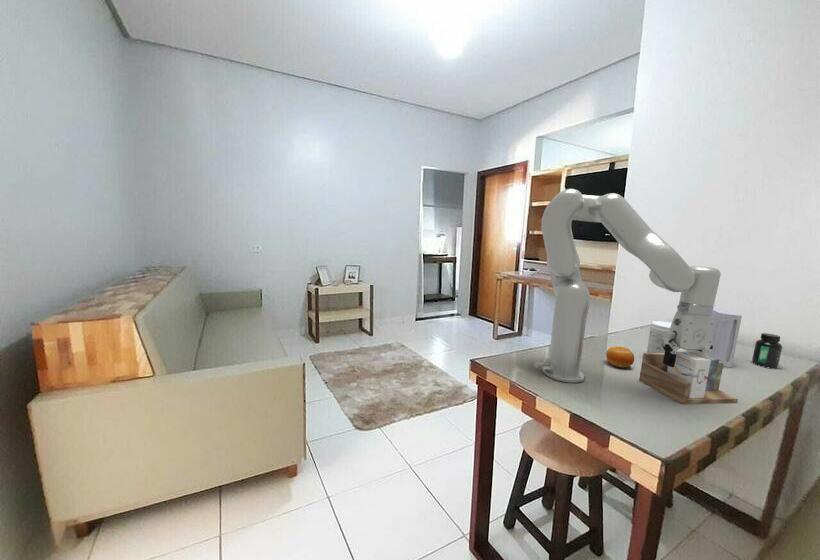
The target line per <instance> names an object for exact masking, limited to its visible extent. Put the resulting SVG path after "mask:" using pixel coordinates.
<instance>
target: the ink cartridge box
mask: <svg viewBox="0 0 820 560" xmlns="http://www.w3.org/2000/svg"><path fill="white" fill-rule="evenodd" d="M711 352H712V351H711V349H709V348H705V350H702V352H701V351H698V350H686V349H682V348H680V349H679V350H678V351H677V352H676V353H675V354H676V355H677V356H676V361H675V366H674V367H670V366H668V368H667V373H669V374H671V375H673V376H675V377H677V378H679V379H682V380H684V381H686V382H688V383H690V384H689V389H688V395H687V397H688V398H704V394H705V389H706V384H707V379H708V373H709V368H710V363H711Z"/></svg>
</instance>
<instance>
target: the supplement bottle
mask: <svg viewBox="0 0 820 560" xmlns="http://www.w3.org/2000/svg"><path fill="white" fill-rule="evenodd" d="M780 342H781V336H780V335H777V334H774V333H767V332H762V333H761V335H760V339H757V340H756V341H755V343H754V349H753V354H752V359H751V363H752V362H753V363H752V364H754V363H755V364H754V365H756V364H757V365H756V366H758V365H760V366H759V367H761V366H764V367H763V368H766V367H769V368H768V369H772V368H775V369H777V367H779V365H780V364H779V363H780V360H781V354H782V350H783V344H781V343H780Z"/></svg>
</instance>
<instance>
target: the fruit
mask: <svg viewBox="0 0 820 560" xmlns="http://www.w3.org/2000/svg"><path fill="white" fill-rule="evenodd" d="M605 357H606V361H608V362H609V364H610V365H612V366H614V367H617V368H629V367H631V366H632V365H633V363H634V362H635V355H634V352H633V351H631V350H630V349H629V348H627V347H625V346H610V347H609V348H608V349H607V350H606V352H605Z"/></svg>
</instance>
